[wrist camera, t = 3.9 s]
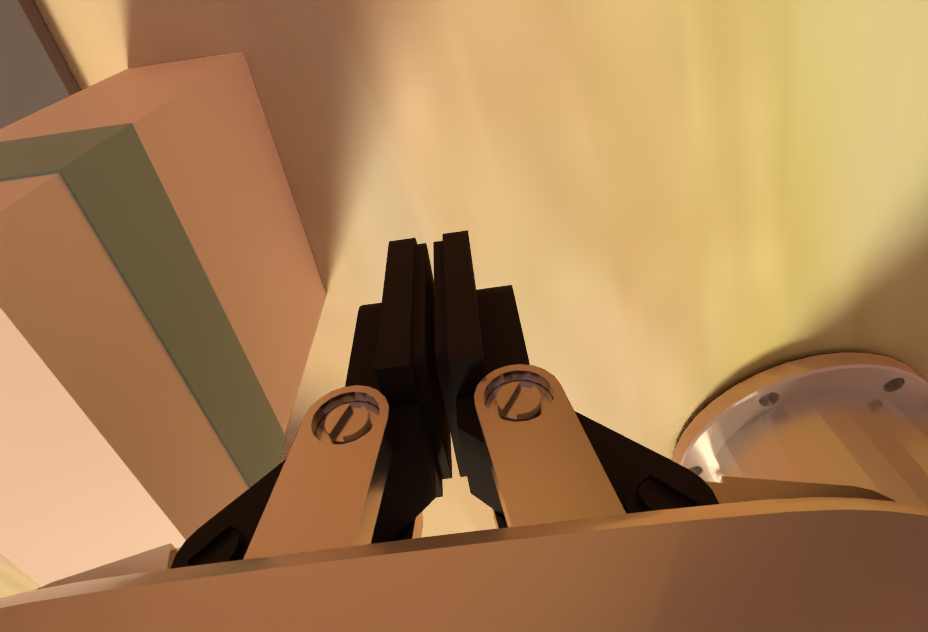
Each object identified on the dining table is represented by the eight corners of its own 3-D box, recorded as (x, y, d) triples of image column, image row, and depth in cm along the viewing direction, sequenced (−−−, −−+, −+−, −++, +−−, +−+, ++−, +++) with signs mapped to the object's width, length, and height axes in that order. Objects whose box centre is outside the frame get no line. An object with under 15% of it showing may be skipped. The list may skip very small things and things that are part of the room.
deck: (243, 48, 16) (-49, 241, 6) (328, 296, 21) (237, 602, 12) (125, 67, 16) (-334, 281, 7) (238, 308, 22) (77, 618, 12)
